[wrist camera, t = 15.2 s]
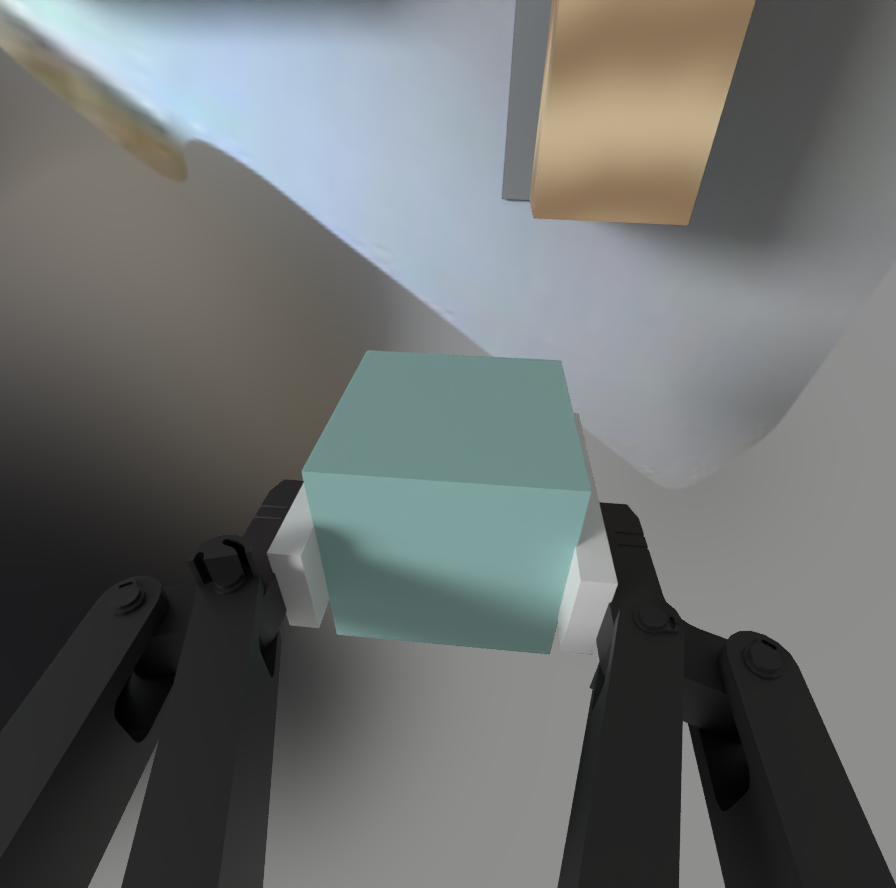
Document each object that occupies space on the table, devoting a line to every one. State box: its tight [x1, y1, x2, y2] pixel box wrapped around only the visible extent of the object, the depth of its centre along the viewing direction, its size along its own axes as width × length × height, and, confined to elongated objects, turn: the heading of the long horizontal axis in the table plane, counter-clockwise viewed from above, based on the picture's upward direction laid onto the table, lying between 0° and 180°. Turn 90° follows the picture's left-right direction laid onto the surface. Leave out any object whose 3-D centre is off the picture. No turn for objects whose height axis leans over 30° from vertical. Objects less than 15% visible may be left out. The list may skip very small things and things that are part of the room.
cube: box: [302, 350, 591, 654], centre depth 14 cm, size 6×6×6 cm
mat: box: [502, 0, 552, 200], centre depth 27 cm, size 16×10×1 cm, turn 179°
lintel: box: [529, 0, 756, 225], centre depth 20 cm, size 14×7×5 cm, turn 179°
